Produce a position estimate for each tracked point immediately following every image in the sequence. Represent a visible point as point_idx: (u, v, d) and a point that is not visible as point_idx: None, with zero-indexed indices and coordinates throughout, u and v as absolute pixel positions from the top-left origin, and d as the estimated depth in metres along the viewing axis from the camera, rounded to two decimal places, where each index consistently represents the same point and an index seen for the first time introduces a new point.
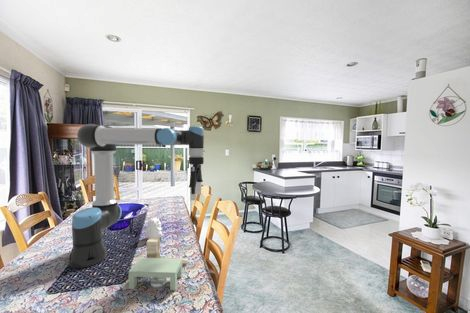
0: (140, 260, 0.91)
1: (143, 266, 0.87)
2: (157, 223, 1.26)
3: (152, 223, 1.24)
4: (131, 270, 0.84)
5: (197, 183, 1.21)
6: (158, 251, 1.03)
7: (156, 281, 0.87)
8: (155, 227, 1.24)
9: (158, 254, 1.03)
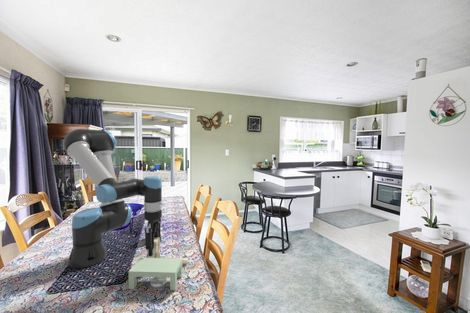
0: (140, 260, 0.91)
1: (143, 266, 0.87)
2: None
3: None
4: (131, 270, 0.84)
5: None
6: (158, 251, 1.03)
7: (156, 281, 0.87)
8: None
9: (158, 254, 1.03)
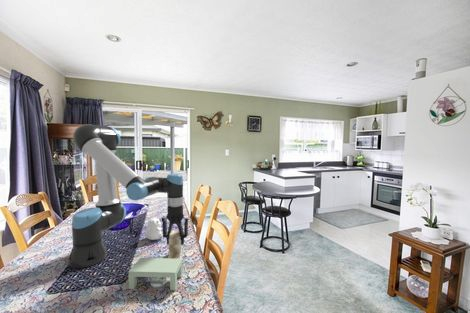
0: (140, 260, 0.91)
1: (143, 266, 0.87)
2: (157, 223, 1.26)
3: (152, 223, 1.24)
4: (131, 270, 0.84)
5: None
6: (174, 245, 1.08)
7: (156, 281, 0.87)
8: (155, 227, 1.24)
9: (174, 248, 1.08)
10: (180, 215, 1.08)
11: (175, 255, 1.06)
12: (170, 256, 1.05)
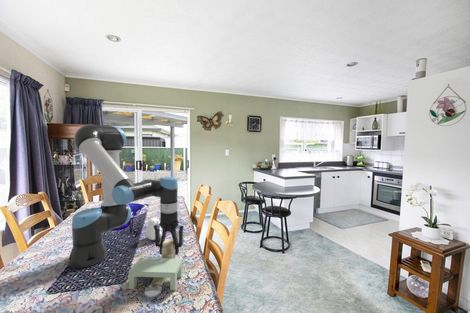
0: (140, 260, 0.91)
1: (143, 266, 0.87)
2: (157, 223, 1.26)
3: (152, 223, 1.24)
4: (131, 270, 0.84)
5: None
6: (167, 255, 0.98)
7: (150, 290, 0.81)
8: None
9: None
10: (174, 222, 0.98)
11: None
12: None
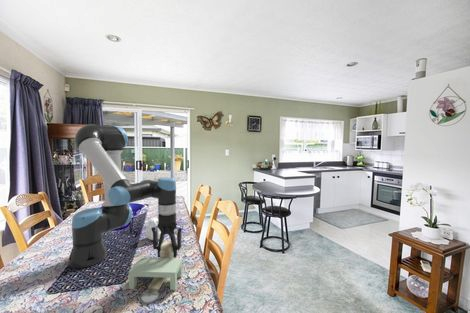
0: (140, 260, 0.91)
1: (143, 266, 0.87)
2: (157, 223, 1.26)
3: (152, 223, 1.24)
4: (131, 270, 0.84)
5: None
6: None
7: (147, 295, 0.79)
8: None
9: None
10: (172, 224, 0.96)
11: None
12: None
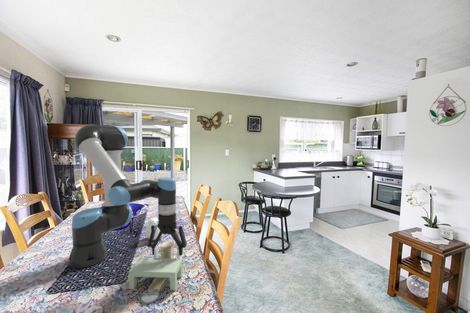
0: (140, 260, 0.91)
1: (143, 266, 0.87)
2: (157, 223, 1.26)
3: (152, 223, 1.24)
4: (131, 270, 0.84)
5: None
6: None
7: (147, 295, 0.79)
8: None
9: None
10: (172, 224, 0.96)
11: None
12: None
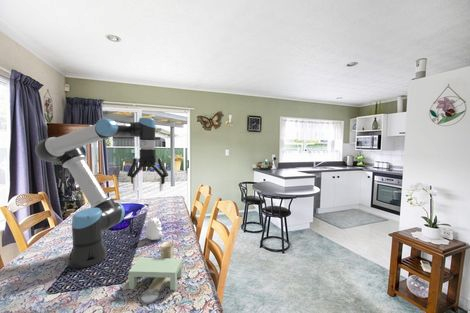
0: (140, 260, 0.91)
1: (143, 266, 0.87)
2: (157, 223, 1.26)
3: (152, 223, 1.24)
4: (131, 270, 0.84)
5: None
6: None
7: (147, 295, 0.79)
8: (155, 227, 1.24)
9: None
10: (151, 159, 1.10)
11: None
12: None
